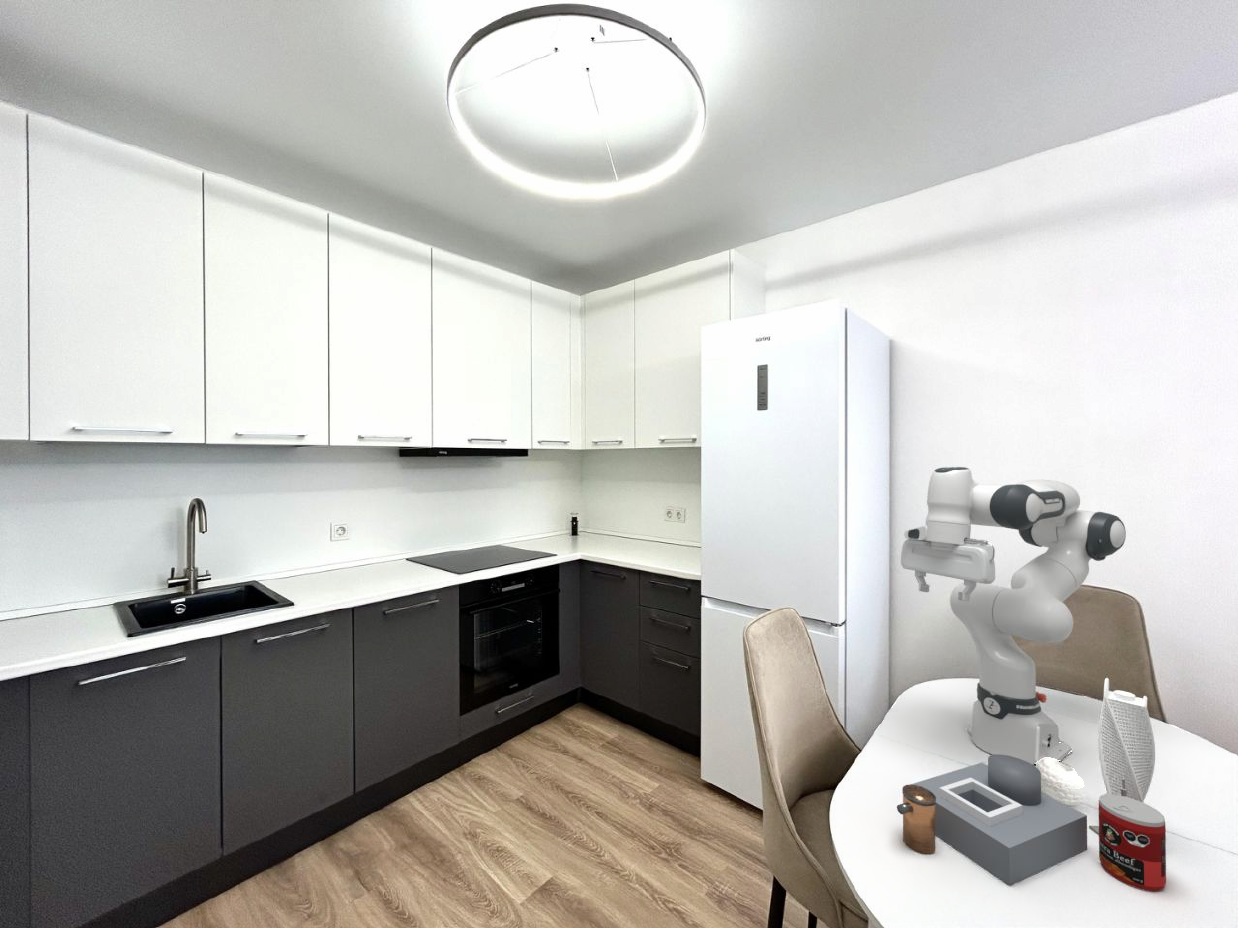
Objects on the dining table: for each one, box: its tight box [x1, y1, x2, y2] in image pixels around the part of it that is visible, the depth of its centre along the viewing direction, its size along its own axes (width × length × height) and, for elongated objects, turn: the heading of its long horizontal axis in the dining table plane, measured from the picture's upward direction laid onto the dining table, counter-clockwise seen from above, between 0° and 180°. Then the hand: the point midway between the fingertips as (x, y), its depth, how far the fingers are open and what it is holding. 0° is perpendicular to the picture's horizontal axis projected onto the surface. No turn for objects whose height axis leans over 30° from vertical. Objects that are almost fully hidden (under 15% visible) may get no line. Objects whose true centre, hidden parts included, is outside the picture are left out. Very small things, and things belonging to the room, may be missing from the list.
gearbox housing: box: [909, 754, 1088, 887], centre depth 95 cm, size 22×18×11 cm
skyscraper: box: [1088, 677, 1156, 836], centre depth 94 cm, size 8×8×28 cm
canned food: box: [1098, 793, 1167, 892], centre depth 85 cm, size 8×8×11 cm
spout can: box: [896, 784, 936, 856], centre depth 91 cm, size 7×5×9 cm
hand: (942, 596), depth 117 cm, fingers open, 8 cm apart
